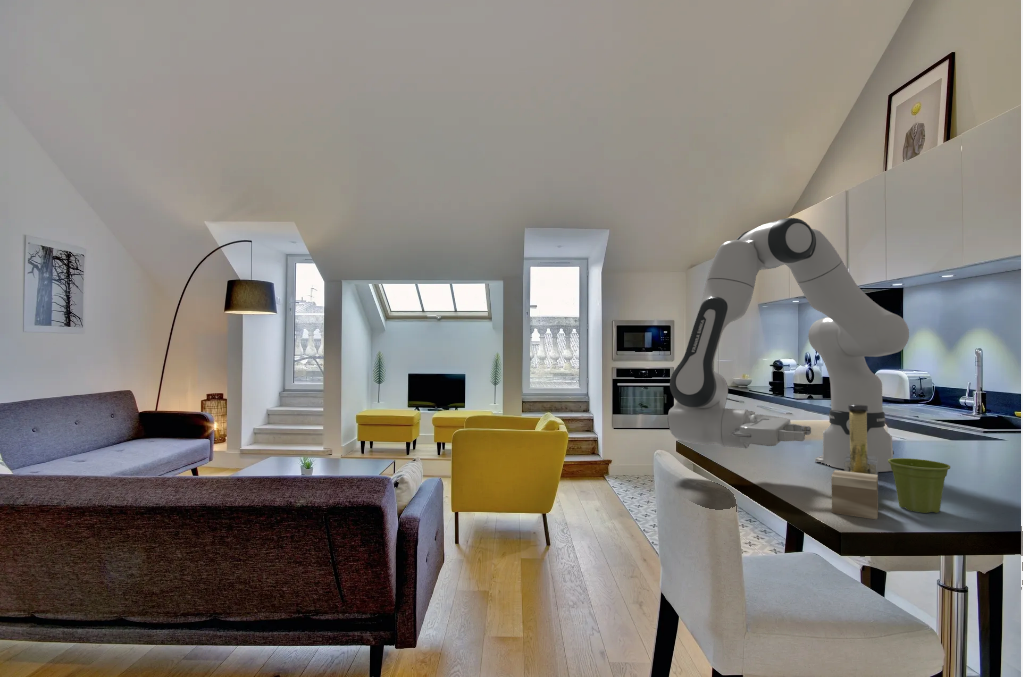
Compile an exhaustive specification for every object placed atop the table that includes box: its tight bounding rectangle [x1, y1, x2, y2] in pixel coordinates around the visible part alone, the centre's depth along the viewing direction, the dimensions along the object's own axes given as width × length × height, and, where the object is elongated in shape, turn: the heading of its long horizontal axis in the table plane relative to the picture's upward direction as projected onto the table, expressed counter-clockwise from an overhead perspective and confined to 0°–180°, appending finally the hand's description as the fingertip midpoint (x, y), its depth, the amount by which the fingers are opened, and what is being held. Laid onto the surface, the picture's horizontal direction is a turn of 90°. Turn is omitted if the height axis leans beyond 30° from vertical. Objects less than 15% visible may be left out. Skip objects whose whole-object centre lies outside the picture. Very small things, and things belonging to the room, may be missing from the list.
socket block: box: [830, 469, 879, 520], centre depth 100 cm, size 6×7×7 cm
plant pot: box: [888, 457, 951, 514], centre depth 102 cm, size 9×9×9 cm
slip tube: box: [848, 405, 871, 474], centre depth 114 cm, size 20×3×17 cm, turn 145°
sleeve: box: [843, 454, 879, 476], centre depth 118 cm, size 10×6×6 cm, turn 145°
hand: (807, 433), depth 116 cm, fingers open, 8 cm apart
